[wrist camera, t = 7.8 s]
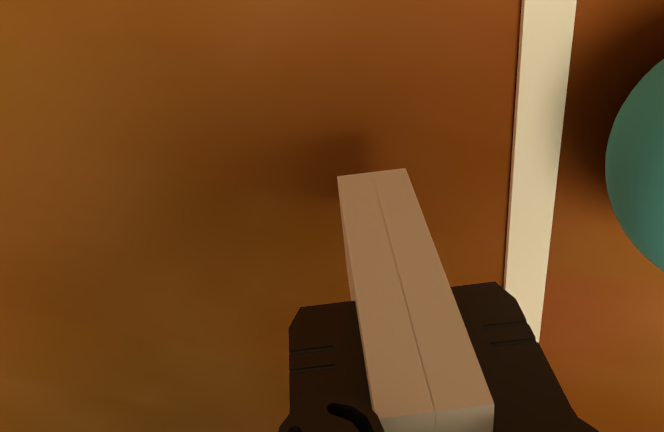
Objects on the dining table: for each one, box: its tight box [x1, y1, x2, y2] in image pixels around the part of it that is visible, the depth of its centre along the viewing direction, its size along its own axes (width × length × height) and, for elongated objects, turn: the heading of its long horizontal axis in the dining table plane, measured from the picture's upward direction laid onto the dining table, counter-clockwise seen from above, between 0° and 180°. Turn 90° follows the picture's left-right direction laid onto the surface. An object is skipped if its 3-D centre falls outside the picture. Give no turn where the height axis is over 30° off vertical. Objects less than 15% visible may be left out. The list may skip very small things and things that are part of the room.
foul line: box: [503, 0, 577, 343], centre depth 16 cm, size 16×1×1 cm, turn 6°
